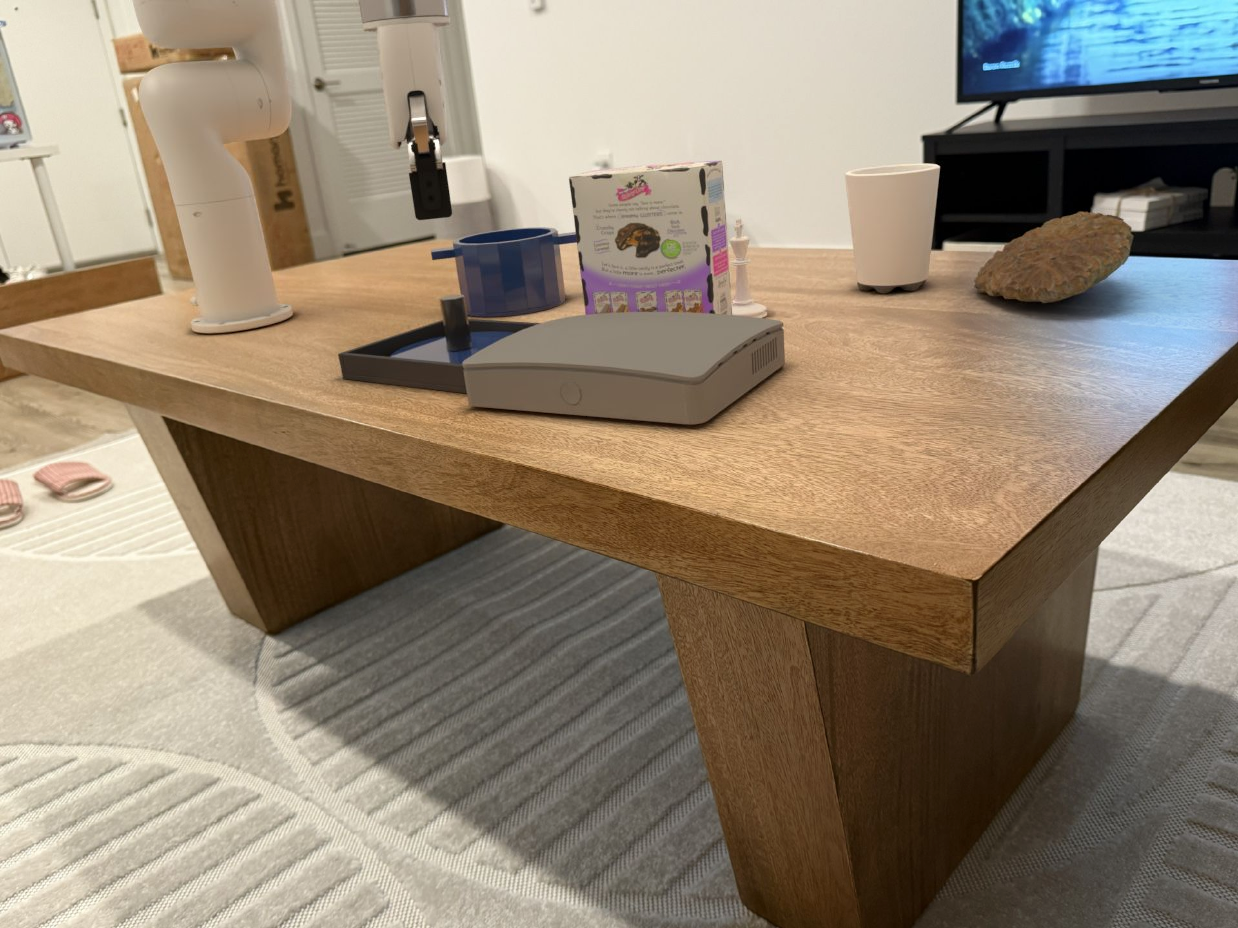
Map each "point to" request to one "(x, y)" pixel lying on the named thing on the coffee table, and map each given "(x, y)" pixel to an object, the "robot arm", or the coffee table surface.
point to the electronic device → (628, 365)
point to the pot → (509, 270)
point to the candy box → (653, 238)
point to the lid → (452, 336)
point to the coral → (1058, 258)
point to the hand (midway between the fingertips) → (434, 212)
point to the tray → (382, 368)
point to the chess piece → (743, 278)
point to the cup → (892, 224)
